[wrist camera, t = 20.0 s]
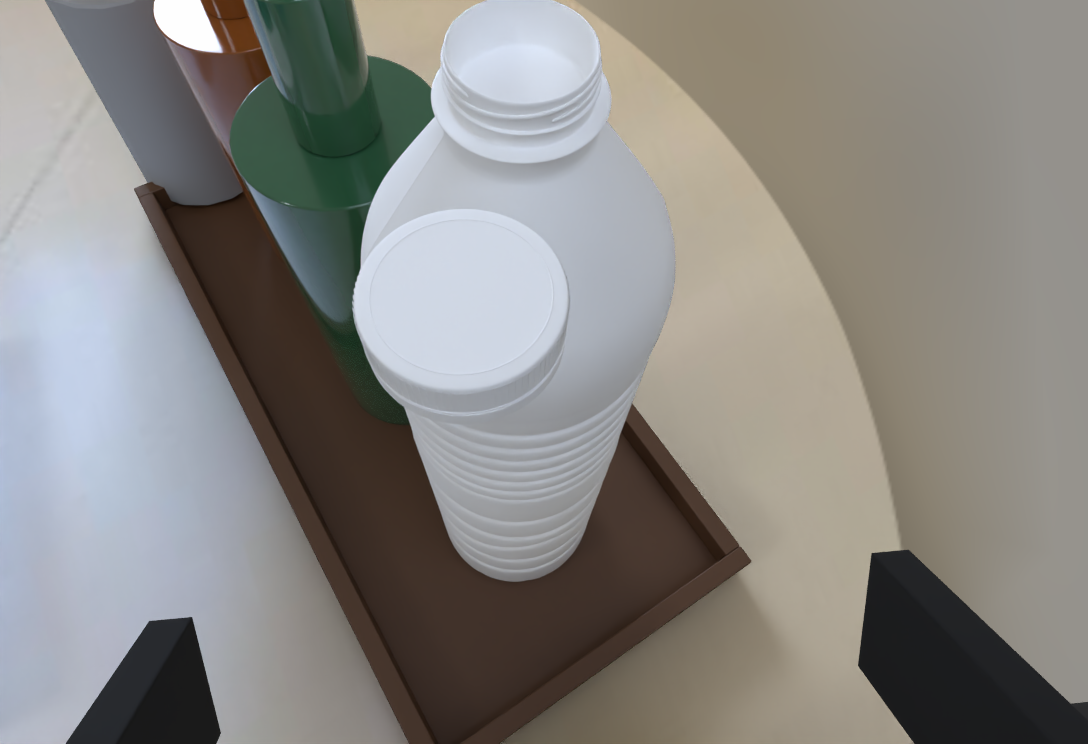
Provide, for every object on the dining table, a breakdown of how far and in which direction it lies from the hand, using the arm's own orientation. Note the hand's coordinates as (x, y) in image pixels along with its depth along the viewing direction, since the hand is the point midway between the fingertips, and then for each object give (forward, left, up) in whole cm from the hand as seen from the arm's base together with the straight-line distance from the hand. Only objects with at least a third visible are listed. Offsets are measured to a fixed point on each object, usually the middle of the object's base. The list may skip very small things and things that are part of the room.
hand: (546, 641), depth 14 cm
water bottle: (+3, -6, -17) cm, 18 cm away
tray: (+10, -12, -18) cm, 24 cm away
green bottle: (+10, -12, -17) cm, 23 cm away
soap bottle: (+26, -21, -18) cm, 38 cm away
